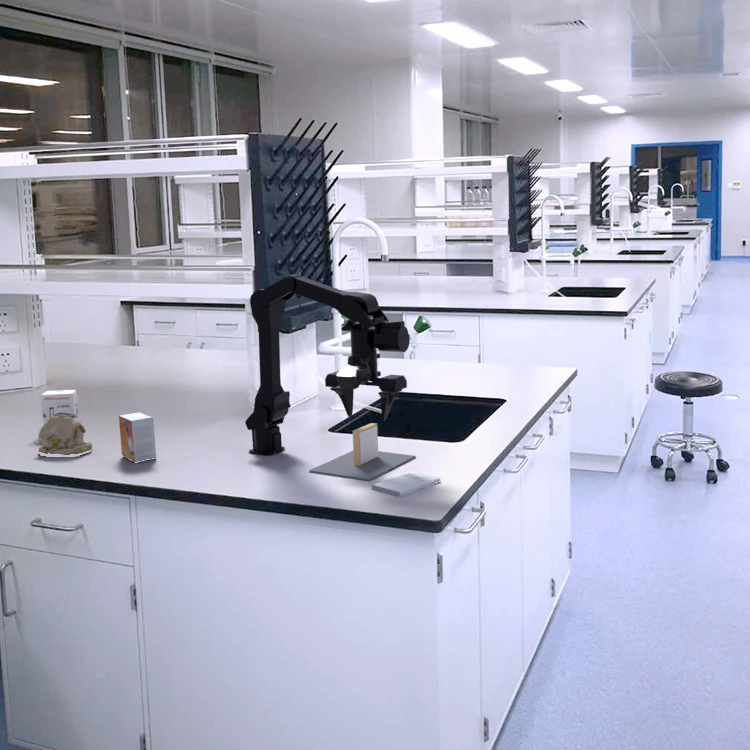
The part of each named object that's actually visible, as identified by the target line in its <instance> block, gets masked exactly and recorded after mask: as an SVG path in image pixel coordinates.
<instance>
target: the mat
mask: <svg viewBox="0 0 750 750" xmlns="http://www.w3.org/2000/svg"><path fill="white" fill-rule="evenodd" d="M416 458H417V457H416V455H412V454H411V455H410V454H404V453H395V452H387V451H380V450H378V457H377V458H375V459H373V460H371V461H369V462H367V463H365V464H363V465H361V466H356V465H354V451H353V450H351V451H349V452H347V453H345V454H343V455H340V456H338V457H335V458H334V459H331V460H329V461H327V462H324V463H322V464H320V465H317V466H315V467H313V468H311V469H309V470H308V472H309V473H314V474H321V475H326V476H327V475H328V476H333V477H334V476H335V477H340V478H347V479H354V480H360V481H367V482H371V481H372V480H373V481H374V479H377V478H379V477H381V476H382V475H384V474H387V473H388V472H390V471H393V470H394V469H396V468H399V467H400V466H402V465H404V464H406V463H407V462H410V461H412V460H414V459H416Z"/></svg>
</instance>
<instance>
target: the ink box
mask: <svg viewBox="0 0 750 750" xmlns="http://www.w3.org/2000/svg"><path fill="white" fill-rule="evenodd" d="M77 393H78V392H77V390H76V389H60V390H59V389H58V390H57V389H56V390H46V391H45V392H43V393H42V394H41V396H40V398H41V399H40V400H41V408H42V410H41V411H42V422H43V426H44V425H45V424H46V423H47V422H48V420H49V418H51V417H54V416H57V417H58V415H59V414H65V417H71V418H74V419H75V420H76V421H78V422H80V418H79V408H78V394H77Z"/></svg>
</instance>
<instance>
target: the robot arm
mask: <svg viewBox="0 0 750 750" xmlns="http://www.w3.org/2000/svg"><path fill="white" fill-rule="evenodd" d="M296 295H297V296H300V297H302V298H305V299H308V300H310V301H313V302H315V303H318V304H322V305H325V306H327V307H331V308H333V309H334V310H336V311H337V312H338V313H339V314H340V315H341V316H343V317H344V318H346V319H348V320H347V321H346V323H345V324H344V325H343V326H342V327H341V329H340V330H341V331H342V332H343V331H344V332H349V333H350V348H351V349H350V351H351V352H350V353H351V355H348V357H347V364H346V365H345V366H343V367H342V368H341V369H340V370H337V371H334V372H331V373H328V374H326V376H325V377H324V378H325V379H324V384H325V385H324V386H325V388H326V387H328V388H329V390H330V391H333V392H334V393H336V395H338V397H339V399H340V401H341V403H342V405H343V408H344V410H345V412H346V415H347V417H348V418H351V417H352V416H353V412H354V393H355V391H354V390H356V389H358V388H359V387H360V385H361V386H370V387H371V386H373V387H378V388H379V390H380V391H379V392H378V396H379V398H380V400H381V401H380V406H381V409H380V410H381V411H380V413H381V421H386V420H387V417H388V416H389V413H390V410H391V408H392V406H393V403H394V402H395V399H396V397H397V395H398V393H401V392H403V390H404V389H406V388H408V383H407V382H408V381H407V379H406V377H405V376H404V375H403V374H401V375H399V374H389V375H386V376H383V377H381V375H382V373H381V372H382V371H379V370H378V359H381V353H378V351H379V352H385V353H386V352H392V353H393V352H394V353H406V352H407V351H408V349H409V347H410V343H411V342H410V340H411V335H410V334H409V330H408V328H407V327H406V325H405V320H398V321H390V320H389V319H388V317H387V316H386V314H385V313H384V311H383V310H382V309H381V307H380V306H379V301H378V300H377V297H376V296H375V295H373V294H371V293H366V292H359V291H348V290H347V291H346V290H342V289H339V288H336V287H333V286H330V285H326V284H323V283H321V282H319V281H316V280H313V279H310V278H307V277H305V276H303V275H301V274H298V273H297V274H289V275H286V276H285V277H283V278H282V279H281V280H279V281H277V282H275V283H273V284H271V285H269V286H267V287H265V288H261V289H256V290H255V291H253V293H252V294H251V295H250V297H249V304H250V305H249V306H250V310H251V311H250V312H251V316H252V318H253V319H254V321H255V323H256V325H257V328H258V349H259V350H258V355H259V356H258V358H259V359H258V360H259V388H258V390H257V392H256V395H255V397H254V405H253V412H252V413H250V415H249V416H248V418H247V419H246V420H245V421H244V422H245V426H246V428H247V430H248V431H251V438H252V439H251V441H252V448H251V449H249V450H248V453H250V454H251V453H252V454H258V455H265V456H271V455H274V454H275V453H278V452H281V451H284V450H285V449H286V447H285V446H283V444H282V443H283V442H282V433H281V430H280V428H281V427H280V425H282V424H283V423H284V420H285V417H286V415H288V413H289V409H290V408H291V406H292V405H291V403H290V396H291V393H290V391H289V390H288V391H286V390H285V389H284V388H283V386H282V383H281V381H282V380H281V353H280V351H281V350H280V348H281V347H280V324H281V323H282V319H283V317H284V315H285V309H286V302H289V300H291V299H293V298H294V297H295V296H296ZM377 350H378V351H377Z"/></svg>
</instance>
